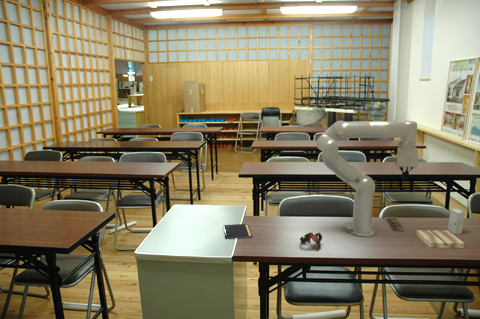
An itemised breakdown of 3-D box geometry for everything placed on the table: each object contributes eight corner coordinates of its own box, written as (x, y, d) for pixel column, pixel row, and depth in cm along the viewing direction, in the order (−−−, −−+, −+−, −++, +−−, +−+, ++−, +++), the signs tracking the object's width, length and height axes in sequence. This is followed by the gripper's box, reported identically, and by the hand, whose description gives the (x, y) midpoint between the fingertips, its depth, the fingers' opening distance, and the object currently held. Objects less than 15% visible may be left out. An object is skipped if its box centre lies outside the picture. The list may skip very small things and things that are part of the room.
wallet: (222, 223, 204) (248, 222, 205) (222, 226, 205) (248, 225, 206) (224, 237, 185) (252, 236, 186) (224, 240, 185) (252, 239, 186)
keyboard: (406, 233, 191) (406, 230, 190) (388, 232, 192) (389, 229, 192) (397, 219, 212) (397, 216, 211) (381, 218, 213) (381, 215, 213)
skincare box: (447, 229, 193) (449, 208, 191) (455, 229, 193) (457, 208, 191) (454, 234, 187) (456, 212, 185) (462, 234, 187) (465, 212, 185)
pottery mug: (314, 254, 168) (305, 239, 168) (302, 255, 176) (294, 241, 176) (330, 242, 174) (321, 227, 175) (318, 243, 182) (310, 229, 183)
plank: (430, 247, 172) (430, 243, 172) (416, 234, 188) (416, 230, 187) (447, 247, 171) (447, 243, 171) (431, 234, 187) (432, 230, 187)
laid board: (445, 247, 172) (445, 242, 171) (429, 234, 187) (430, 230, 187) (464, 248, 171) (464, 243, 170) (447, 234, 187) (447, 230, 186)
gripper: (395, 146, 181) (393, 180, 184) (425, 146, 180) (422, 180, 183) (390, 144, 188) (388, 177, 191) (419, 143, 187) (416, 177, 191)
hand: (404, 179), depth 187 cm, fingers closed
